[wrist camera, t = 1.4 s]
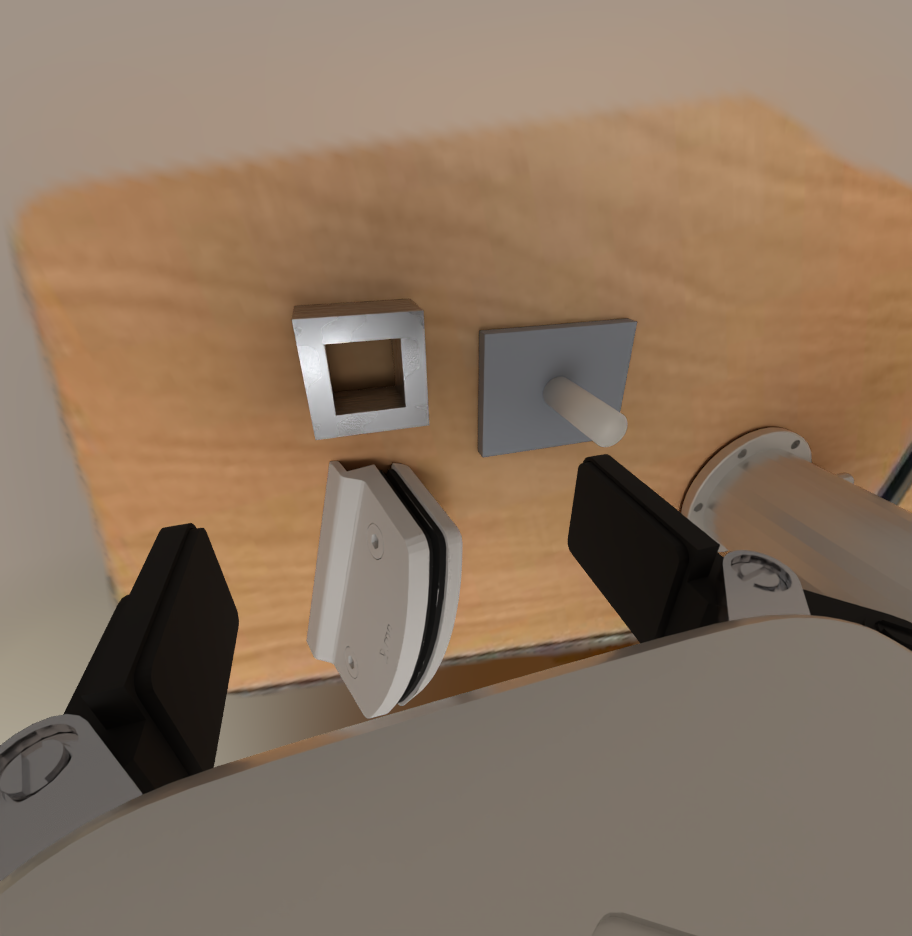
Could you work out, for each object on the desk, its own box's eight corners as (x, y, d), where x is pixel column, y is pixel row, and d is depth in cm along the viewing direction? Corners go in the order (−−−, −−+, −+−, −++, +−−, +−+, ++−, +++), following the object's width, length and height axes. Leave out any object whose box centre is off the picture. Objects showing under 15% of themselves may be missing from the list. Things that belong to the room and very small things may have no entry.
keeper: (627, 318, 28) (710, 345, 22) (607, 431, 32) (673, 479, 26) (479, 330, 26) (528, 364, 20) (477, 450, 30) (518, 508, 24)
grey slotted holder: (330, 455, 27) (412, 555, 20) (396, 450, 30) (487, 536, 23) (305, 644, 34) (360, 763, 27) (361, 625, 37) (423, 729, 30)
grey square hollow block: (409, 298, 24) (423, 310, 21) (416, 402, 27) (429, 425, 24) (294, 305, 22) (291, 319, 19) (315, 414, 25) (315, 440, 22)
